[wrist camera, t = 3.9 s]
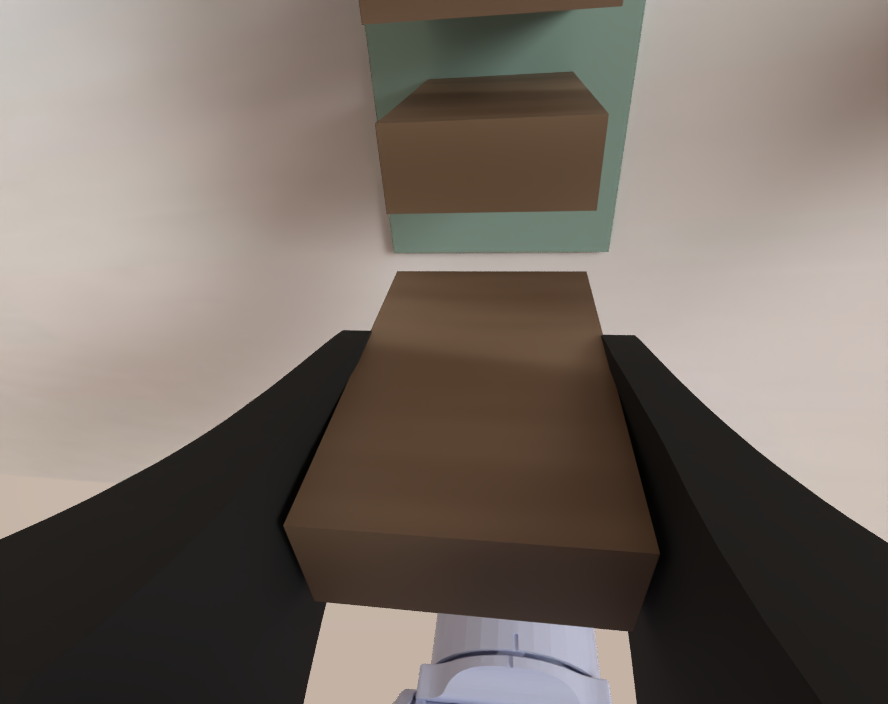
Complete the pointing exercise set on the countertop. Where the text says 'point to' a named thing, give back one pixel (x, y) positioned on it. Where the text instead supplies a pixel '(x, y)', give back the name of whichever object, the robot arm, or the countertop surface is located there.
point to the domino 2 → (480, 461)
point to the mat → (509, 53)
